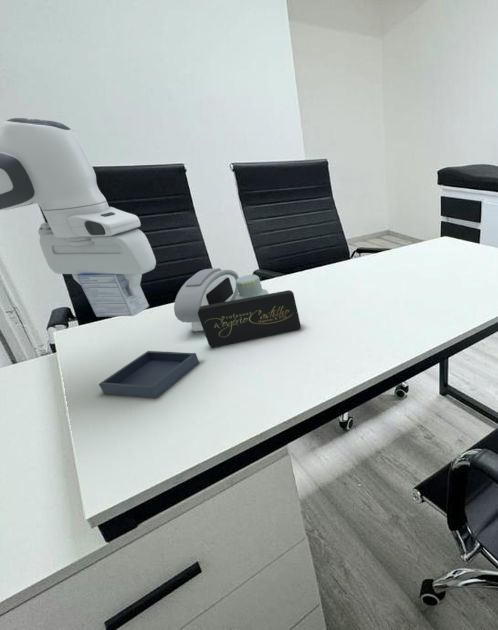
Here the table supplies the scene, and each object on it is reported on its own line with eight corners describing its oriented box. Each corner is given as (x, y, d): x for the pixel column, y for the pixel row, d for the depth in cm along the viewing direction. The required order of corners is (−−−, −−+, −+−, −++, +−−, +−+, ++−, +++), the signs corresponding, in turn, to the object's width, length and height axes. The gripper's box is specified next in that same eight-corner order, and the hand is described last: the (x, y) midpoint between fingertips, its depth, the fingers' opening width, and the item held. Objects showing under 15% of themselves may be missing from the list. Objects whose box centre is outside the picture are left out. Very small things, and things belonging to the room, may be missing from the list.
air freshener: (275, 315, 104) (266, 281, 100) (242, 323, 101) (232, 288, 96) (268, 301, 113) (260, 269, 108) (238, 308, 109) (228, 275, 105)
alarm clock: (208, 336, 96) (191, 289, 90) (184, 337, 96) (165, 290, 90) (245, 298, 116) (233, 257, 110) (225, 299, 116) (212, 258, 111)
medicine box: (150, 307, 77) (133, 265, 73) (133, 317, 73) (114, 274, 69) (114, 307, 78) (95, 266, 74) (95, 317, 74) (74, 275, 70)
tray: (103, 394, 76) (98, 384, 75) (152, 360, 87) (147, 350, 86) (156, 398, 74) (151, 387, 73) (199, 362, 85) (195, 353, 84)
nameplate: (209, 348, 90) (196, 310, 86) (210, 344, 92) (197, 306, 87) (301, 329, 96) (293, 292, 92) (300, 325, 98) (292, 289, 93)
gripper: (16, 227, 66) (54, 300, 73) (115, 225, 63) (147, 302, 69) (52, 218, 72) (86, 287, 78) (146, 216, 68) (173, 288, 74)
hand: (115, 294), depth 73 cm, fingers closed on medicine box, 8 cm apart
